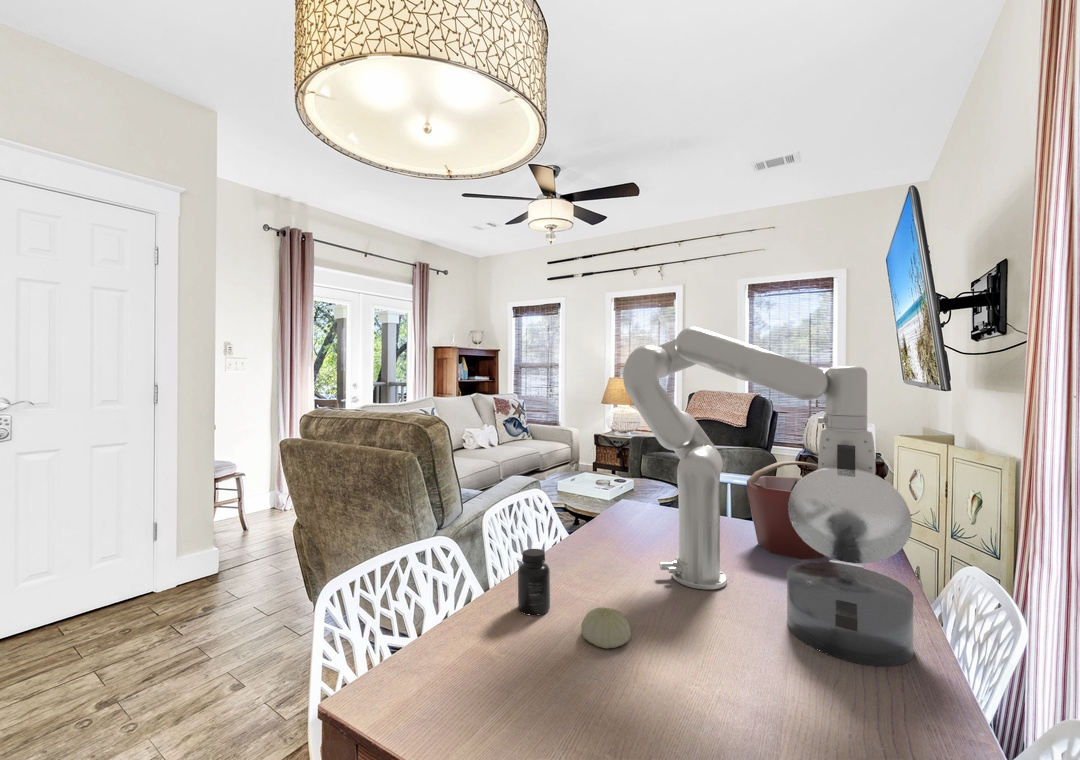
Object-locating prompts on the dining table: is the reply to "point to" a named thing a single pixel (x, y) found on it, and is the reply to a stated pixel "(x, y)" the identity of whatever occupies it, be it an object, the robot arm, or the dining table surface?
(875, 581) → the cooker pot
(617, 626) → the sea urchin shell
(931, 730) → the dining table surface
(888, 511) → the cooker lid
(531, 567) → the supplement bottle
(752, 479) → the bucket
